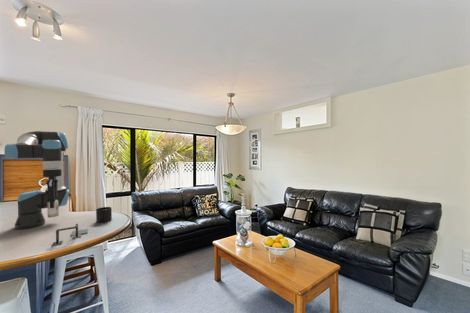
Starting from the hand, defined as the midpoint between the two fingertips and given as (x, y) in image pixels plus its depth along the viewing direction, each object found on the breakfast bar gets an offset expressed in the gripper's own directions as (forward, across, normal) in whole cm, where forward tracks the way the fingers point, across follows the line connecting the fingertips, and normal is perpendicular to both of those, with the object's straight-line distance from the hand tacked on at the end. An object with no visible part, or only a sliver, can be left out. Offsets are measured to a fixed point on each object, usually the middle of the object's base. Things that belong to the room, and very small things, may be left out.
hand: (53, 212), depth 112 cm
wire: (+17, -3, +5) cm, 18 cm away
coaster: (+17, -13, +10) cm, 24 cm away
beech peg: (+2, 0, 0) cm, 2 cm away
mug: (+17, -31, +23) cm, 43 cm away
